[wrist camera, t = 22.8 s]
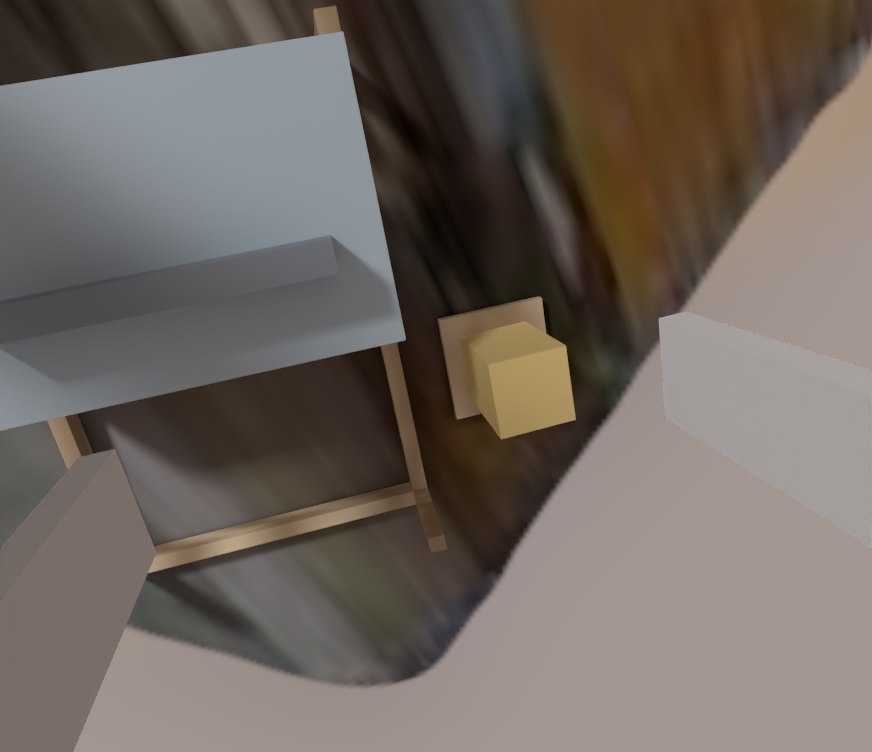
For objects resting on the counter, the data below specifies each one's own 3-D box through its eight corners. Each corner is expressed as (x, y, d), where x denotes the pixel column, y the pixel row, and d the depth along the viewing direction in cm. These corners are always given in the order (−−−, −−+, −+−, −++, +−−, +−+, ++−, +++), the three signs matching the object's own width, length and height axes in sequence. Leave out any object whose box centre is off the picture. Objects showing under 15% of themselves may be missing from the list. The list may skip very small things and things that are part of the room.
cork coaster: (455, 416, 41) (457, 419, 40) (437, 318, 39) (438, 320, 38) (551, 393, 42) (554, 396, 41) (538, 296, 40) (541, 297, 39)
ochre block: (472, 400, 40) (501, 439, 34) (459, 337, 39) (487, 364, 32) (534, 384, 41) (575, 419, 34) (525, 321, 39) (565, 345, 33)
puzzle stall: (122, 568, 40) (78, 647, 33) (-66, 111, 31) (-181, 84, 24) (426, 490, 42) (447, 549, 35) (333, 47, 33) (335, 5, 26)
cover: (-26, 432, 28) (-76, 465, 25) (-171, 118, 24) (-257, 103, 20) (404, 336, 31) (415, 354, 27) (342, 36, 26) (345, 10, 23)
